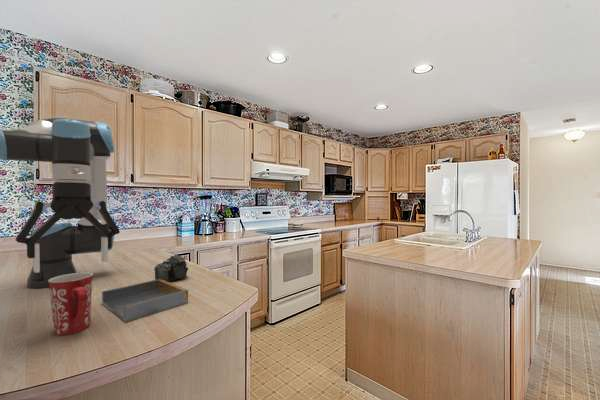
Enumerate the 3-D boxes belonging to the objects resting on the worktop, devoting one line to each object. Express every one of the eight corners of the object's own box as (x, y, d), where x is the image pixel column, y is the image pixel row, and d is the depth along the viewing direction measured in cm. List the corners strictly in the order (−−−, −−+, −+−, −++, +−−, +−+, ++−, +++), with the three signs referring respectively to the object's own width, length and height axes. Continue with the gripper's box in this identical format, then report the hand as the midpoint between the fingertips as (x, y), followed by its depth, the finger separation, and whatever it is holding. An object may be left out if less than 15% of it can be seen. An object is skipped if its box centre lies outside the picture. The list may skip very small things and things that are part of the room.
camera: (173, 285, 107) (173, 259, 107) (151, 284, 109) (151, 258, 109) (193, 276, 120) (193, 252, 120) (173, 274, 122) (173, 251, 122)
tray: (101, 304, 88) (101, 291, 88) (159, 289, 102) (159, 278, 102) (125, 322, 76) (125, 307, 76) (188, 302, 90) (187, 290, 90)
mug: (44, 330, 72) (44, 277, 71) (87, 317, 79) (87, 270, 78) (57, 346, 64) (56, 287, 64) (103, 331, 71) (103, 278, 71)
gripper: (1, 179, 59) (2, 279, 59) (132, 183, 78) (132, 259, 78) (-2, 180, 63) (-1, 274, 64) (122, 184, 83) (123, 256, 83)
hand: (73, 266), depth 71 cm, fingers open, 13 cm apart
